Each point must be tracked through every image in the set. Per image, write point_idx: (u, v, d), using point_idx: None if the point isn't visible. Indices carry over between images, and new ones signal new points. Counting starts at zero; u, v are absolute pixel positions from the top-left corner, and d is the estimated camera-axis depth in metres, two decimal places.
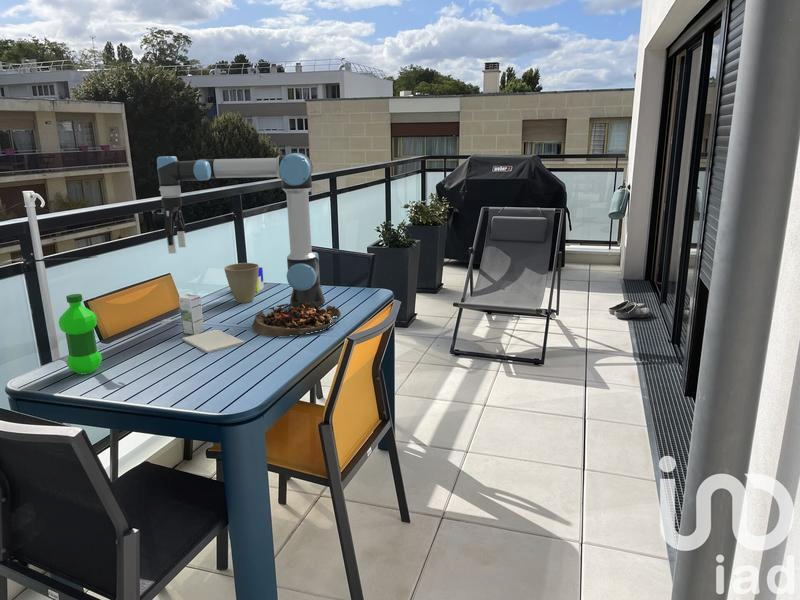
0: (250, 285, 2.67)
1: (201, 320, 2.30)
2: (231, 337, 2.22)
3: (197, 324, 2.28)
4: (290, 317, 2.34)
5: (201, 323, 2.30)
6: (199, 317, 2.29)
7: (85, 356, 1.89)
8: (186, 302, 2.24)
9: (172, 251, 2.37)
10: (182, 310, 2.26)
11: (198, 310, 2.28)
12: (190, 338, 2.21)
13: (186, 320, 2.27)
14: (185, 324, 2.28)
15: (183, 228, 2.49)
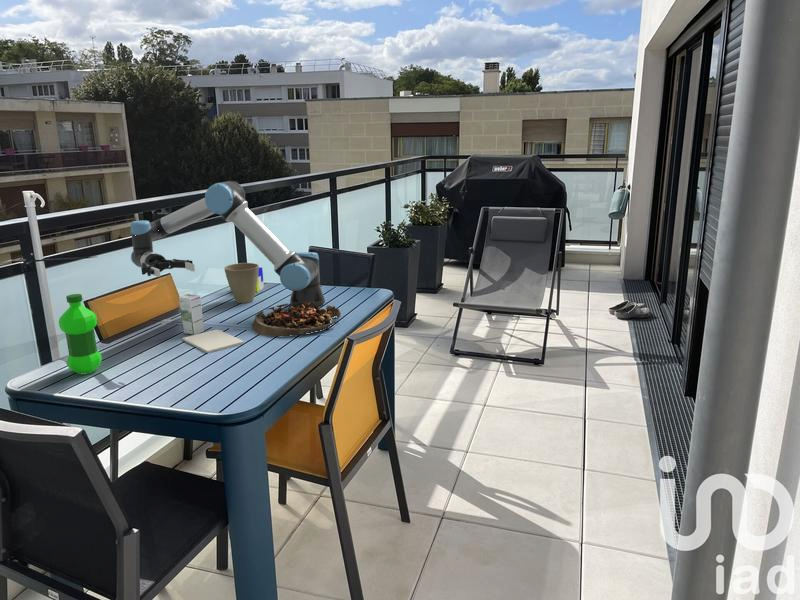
0: (250, 285, 2.67)
1: (201, 320, 2.30)
2: (231, 337, 2.22)
3: (197, 324, 2.28)
4: (290, 317, 2.34)
5: (201, 323, 2.30)
6: (199, 317, 2.29)
7: (85, 356, 1.89)
8: (186, 302, 2.24)
9: (157, 272, 2.27)
10: (182, 310, 2.26)
11: (198, 310, 2.28)
12: (190, 338, 2.21)
13: (186, 320, 2.27)
14: (185, 324, 2.28)
15: (185, 261, 2.41)
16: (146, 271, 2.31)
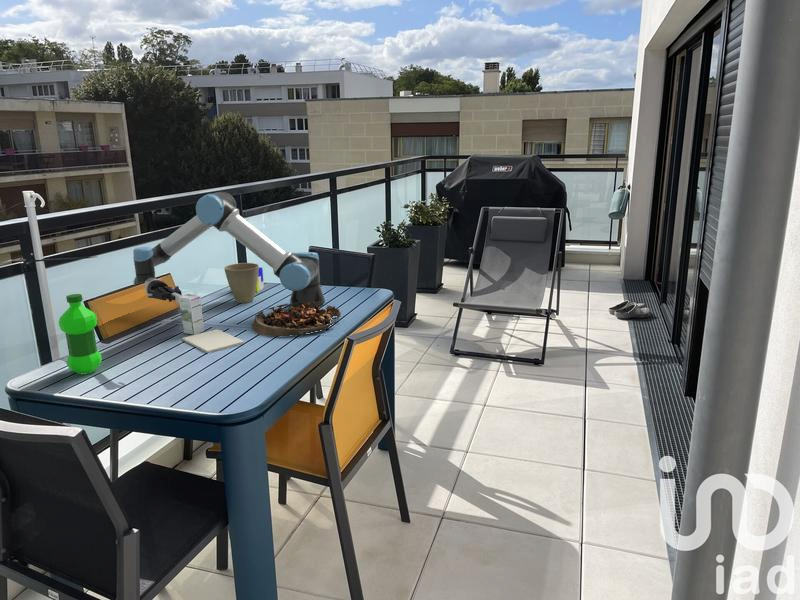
0: (250, 285, 2.67)
1: (201, 320, 2.30)
2: (231, 337, 2.22)
3: (197, 324, 2.28)
4: (290, 317, 2.34)
5: (201, 323, 2.30)
6: (199, 317, 2.29)
7: (85, 356, 1.89)
8: (186, 302, 2.24)
9: (178, 299, 2.33)
10: (182, 310, 2.26)
11: (198, 310, 2.28)
12: (190, 338, 2.21)
13: (186, 320, 2.27)
14: (185, 324, 2.28)
15: None
16: (167, 297, 2.36)
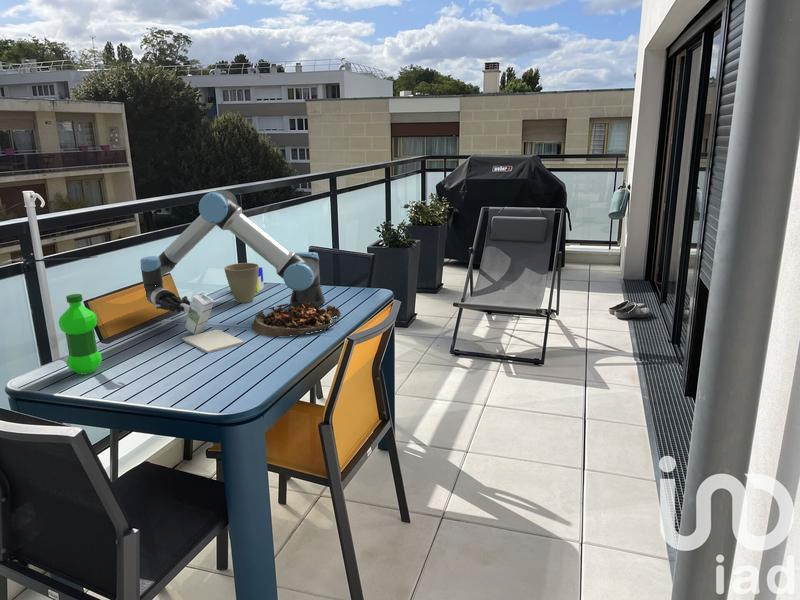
0: (250, 285, 2.67)
1: (205, 322, 2.29)
2: (231, 337, 2.22)
3: (200, 325, 2.28)
4: (290, 317, 2.34)
5: (204, 324, 2.30)
6: (205, 319, 2.28)
7: (85, 356, 1.89)
8: (199, 305, 2.22)
9: (187, 309, 2.28)
10: (192, 309, 2.24)
11: (207, 314, 2.27)
12: (190, 338, 2.21)
13: (192, 319, 2.26)
14: (189, 321, 2.26)
15: (183, 302, 2.34)
16: (176, 308, 2.32)
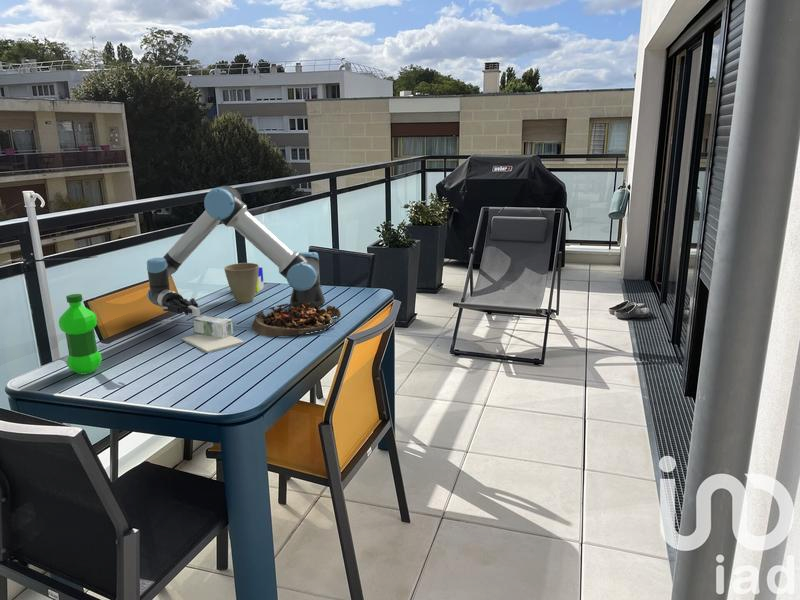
0: (250, 285, 2.67)
1: None
2: (231, 337, 2.22)
3: None
4: (290, 317, 2.34)
5: None
6: None
7: (85, 356, 1.89)
8: (219, 333, 2.21)
9: (195, 312, 2.24)
10: (211, 325, 2.22)
11: None
12: (190, 338, 2.21)
13: (204, 327, 2.24)
14: (200, 324, 2.24)
15: (190, 304, 2.30)
16: (183, 310, 2.28)
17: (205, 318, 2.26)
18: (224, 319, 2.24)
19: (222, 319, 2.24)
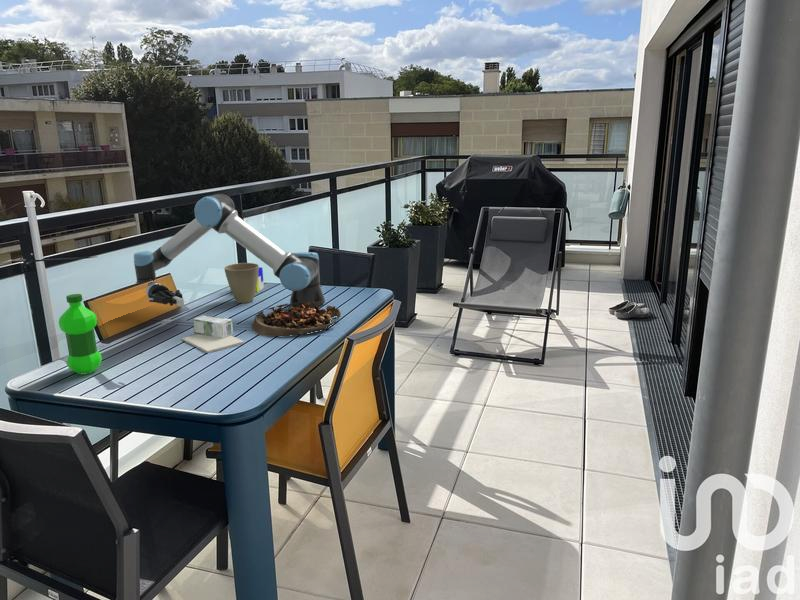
0: (250, 285, 2.67)
1: None
2: (231, 337, 2.22)
3: None
4: (290, 317, 2.34)
5: None
6: None
7: (85, 356, 1.89)
8: (219, 333, 2.21)
9: (179, 302, 2.33)
10: (211, 325, 2.22)
11: None
12: (190, 338, 2.21)
13: (204, 327, 2.24)
14: (200, 324, 2.24)
15: None
16: (168, 301, 2.37)
17: (205, 318, 2.26)
18: (224, 319, 2.24)
19: (222, 319, 2.24)
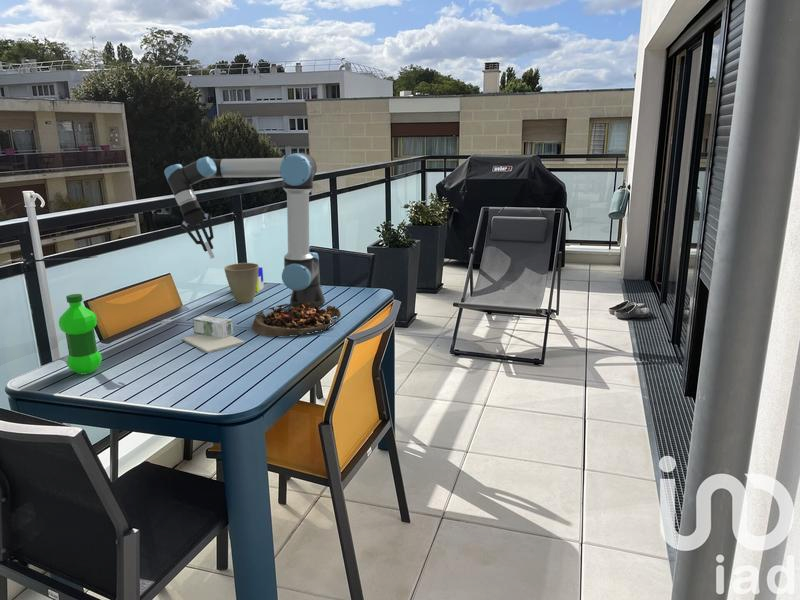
0: (250, 285, 2.67)
1: None
2: (231, 337, 2.22)
3: None
4: (290, 317, 2.34)
5: None
6: None
7: (85, 356, 1.89)
8: (219, 333, 2.21)
9: (210, 256, 2.43)
10: (211, 325, 2.22)
11: None
12: (190, 338, 2.21)
13: (204, 327, 2.24)
14: (200, 324, 2.24)
15: (207, 237, 2.43)
16: None
17: (205, 318, 2.26)
18: (224, 319, 2.24)
19: (222, 319, 2.24)
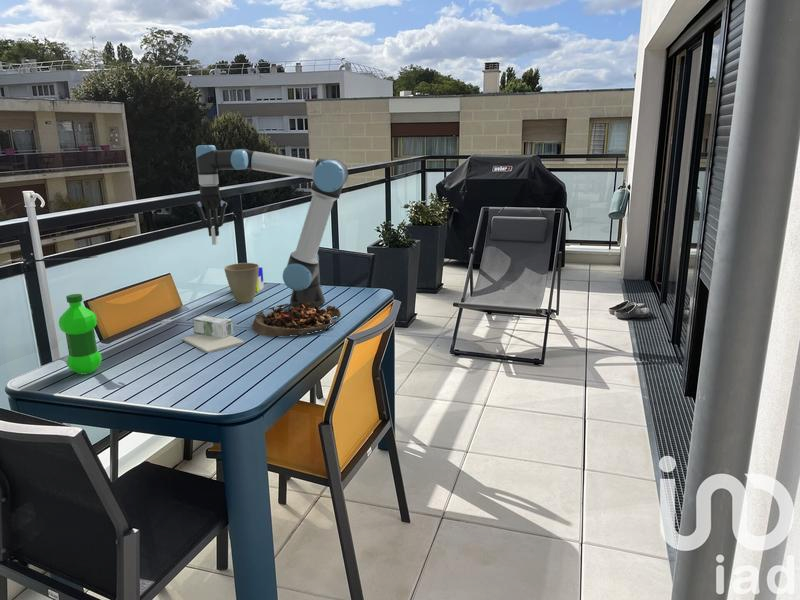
0: (250, 285, 2.67)
1: None
2: (231, 337, 2.22)
3: None
4: (290, 317, 2.34)
5: None
6: None
7: (85, 356, 1.89)
8: (219, 333, 2.21)
9: None
10: (211, 325, 2.22)
11: None
12: (190, 338, 2.21)
13: (204, 327, 2.24)
14: (200, 324, 2.24)
15: (215, 224, 2.44)
16: None
17: (205, 318, 2.26)
18: (224, 319, 2.24)
19: (222, 319, 2.24)
